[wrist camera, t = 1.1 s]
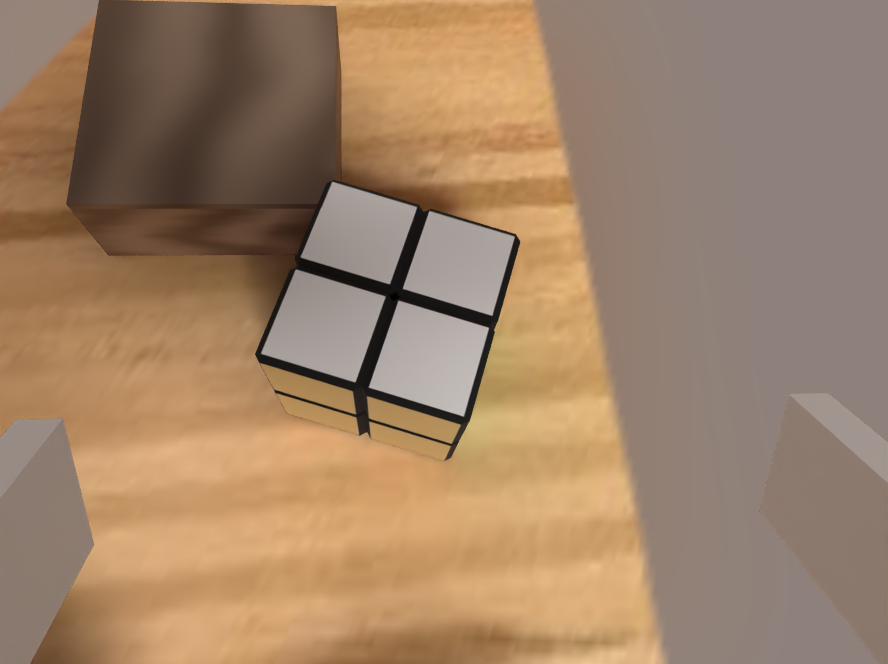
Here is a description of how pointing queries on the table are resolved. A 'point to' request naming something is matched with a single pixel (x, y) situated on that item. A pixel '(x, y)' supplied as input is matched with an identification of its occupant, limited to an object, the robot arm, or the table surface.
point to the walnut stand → (207, 127)
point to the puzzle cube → (388, 319)
